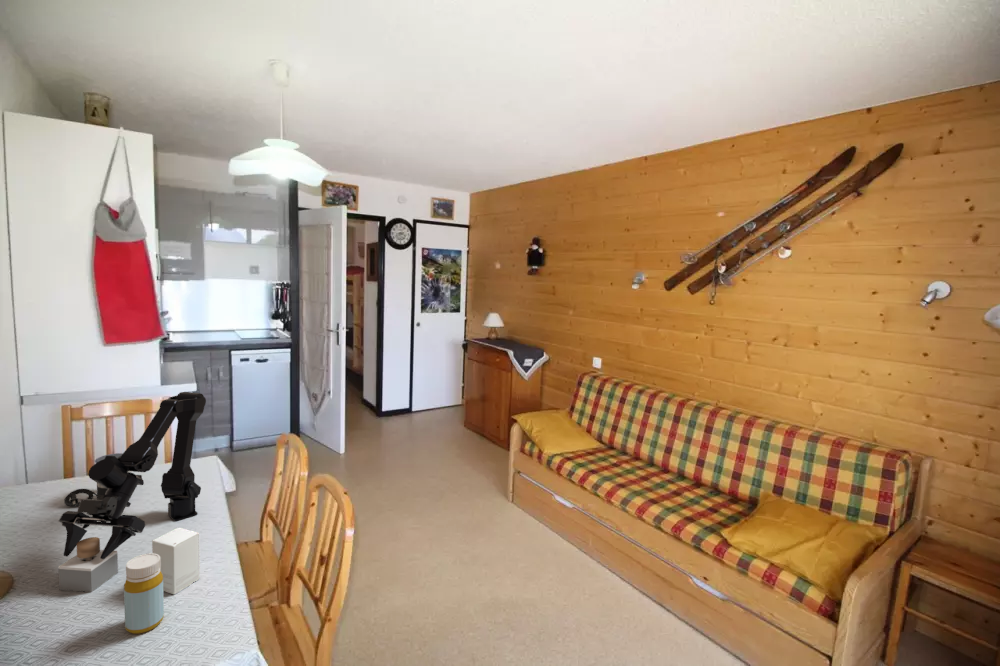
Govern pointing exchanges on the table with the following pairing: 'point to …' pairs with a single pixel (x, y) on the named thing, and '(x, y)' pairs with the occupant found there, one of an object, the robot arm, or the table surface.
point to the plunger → (88, 548)
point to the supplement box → (178, 558)
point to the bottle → (143, 593)
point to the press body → (87, 572)
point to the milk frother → (99, 489)
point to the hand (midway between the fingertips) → (83, 557)
